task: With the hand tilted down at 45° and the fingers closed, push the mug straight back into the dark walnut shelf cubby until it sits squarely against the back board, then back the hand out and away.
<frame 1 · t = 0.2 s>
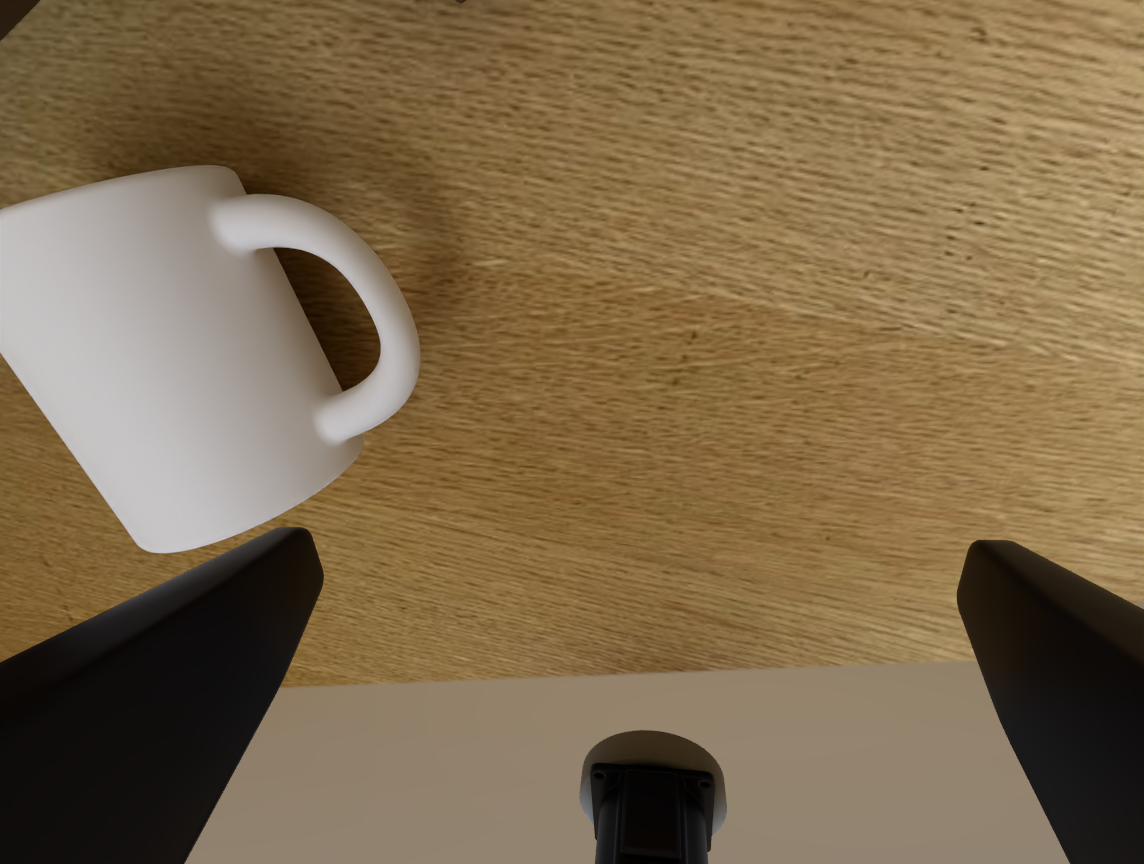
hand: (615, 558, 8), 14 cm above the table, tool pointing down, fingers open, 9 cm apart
mug: (303, 310, 23), on the table
shelf: (213, 188, 21), on the table
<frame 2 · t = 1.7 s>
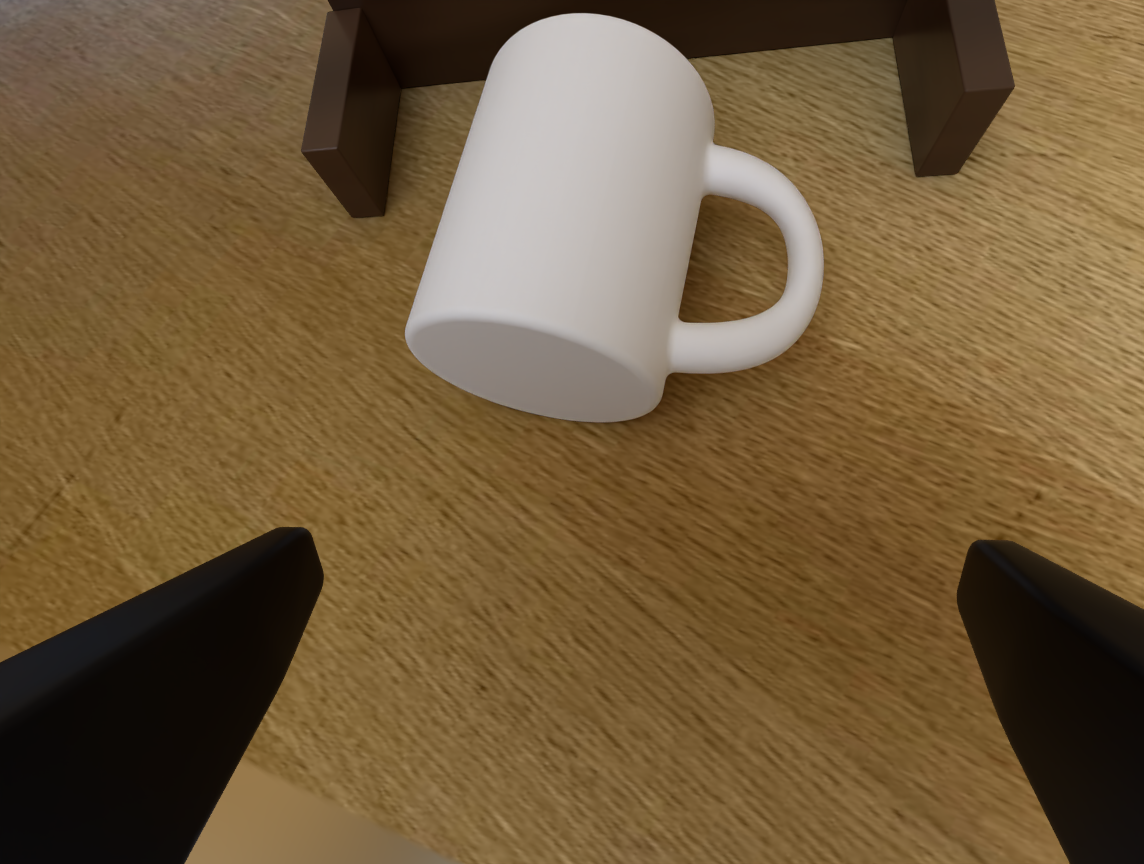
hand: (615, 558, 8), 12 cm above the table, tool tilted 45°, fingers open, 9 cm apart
mug: (634, 309, 23), on the table
shelf: (633, 198, 25), on the table
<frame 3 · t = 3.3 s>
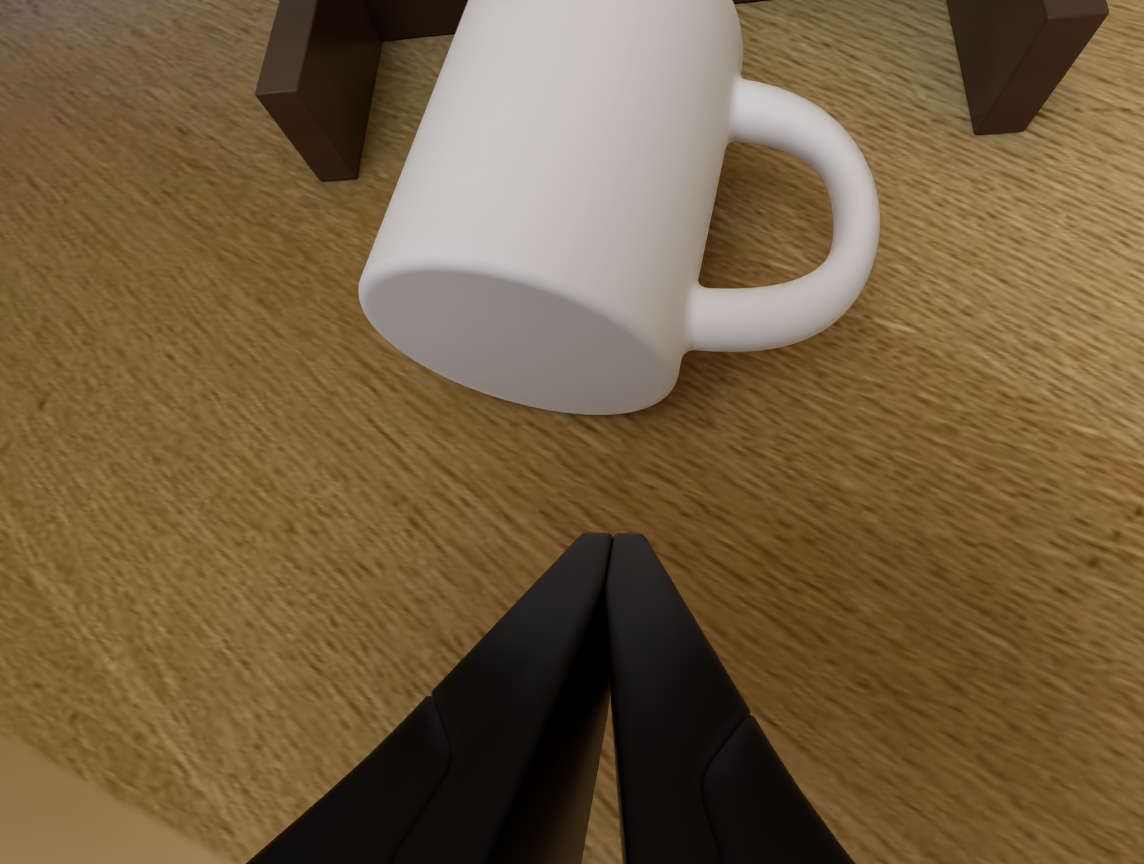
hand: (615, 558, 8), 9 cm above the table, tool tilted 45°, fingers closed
mug: (642, 285, 20), on the table
shelf: (642, 159, 21), on the table
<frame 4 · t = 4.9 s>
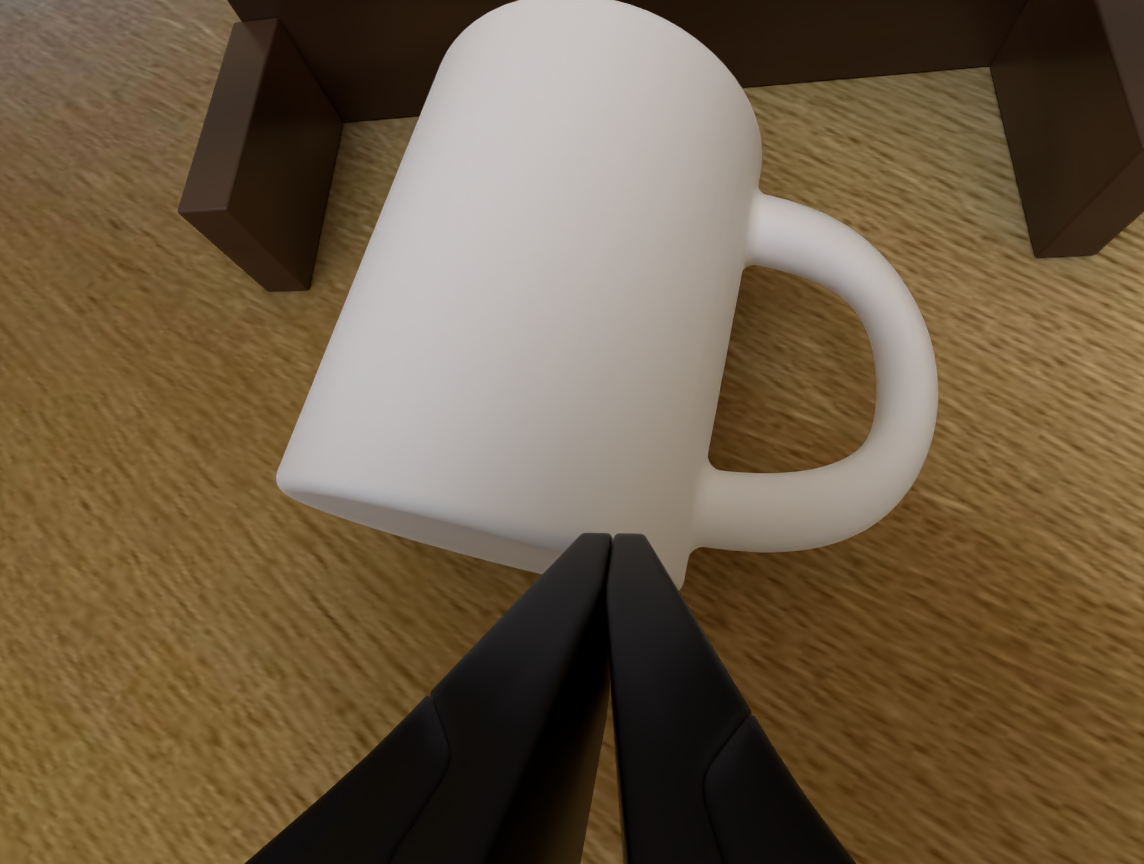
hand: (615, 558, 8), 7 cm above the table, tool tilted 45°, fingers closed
mug: (639, 411, 17), on the table, touching gripper
shelf: (640, 276, 18), on the table
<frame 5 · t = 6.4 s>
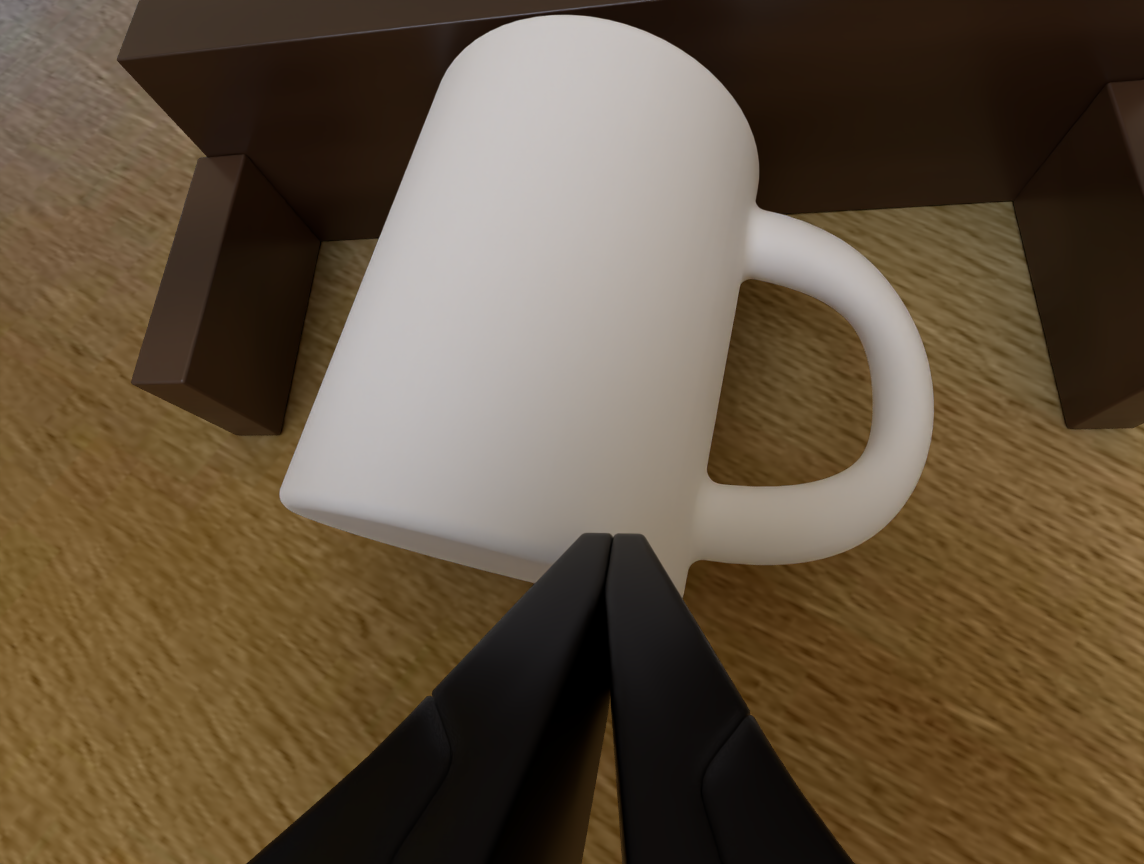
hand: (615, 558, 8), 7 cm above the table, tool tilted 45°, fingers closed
mug: (639, 422, 17), on the table, touching gripper
shelf: (636, 433, 17), on the table
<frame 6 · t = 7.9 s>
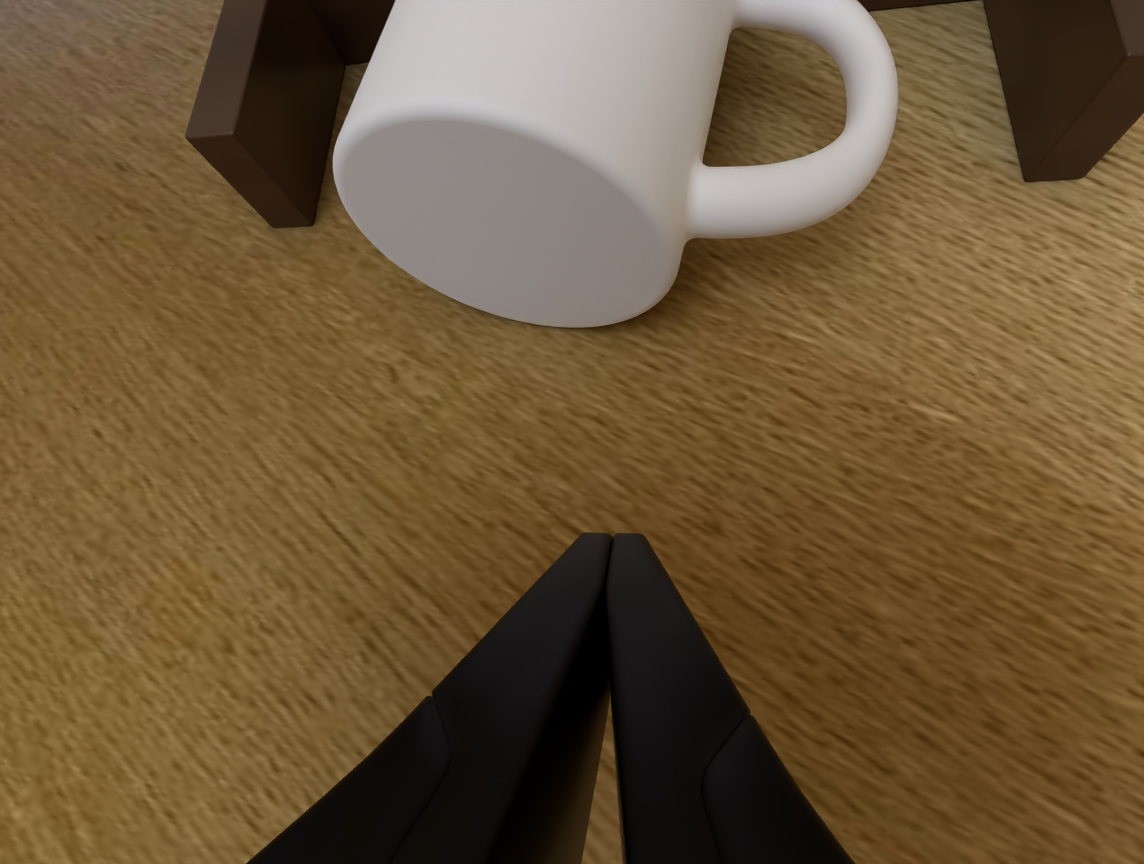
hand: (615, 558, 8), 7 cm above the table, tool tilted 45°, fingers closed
mug: (640, 198, 19), on the table
shelf: (638, 206, 18), on the table
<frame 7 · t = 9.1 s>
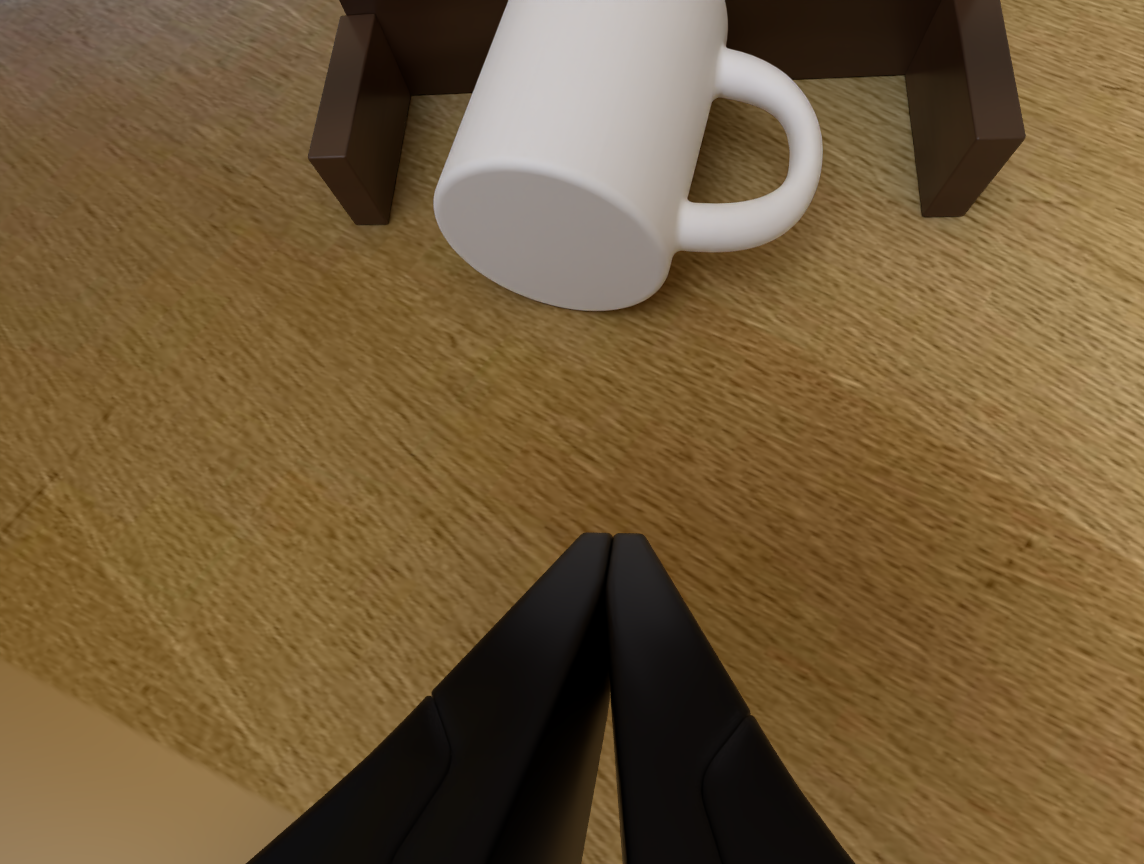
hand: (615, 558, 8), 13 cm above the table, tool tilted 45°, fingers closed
mug: (642, 215, 25), on the table
shelf: (640, 221, 25), on the table
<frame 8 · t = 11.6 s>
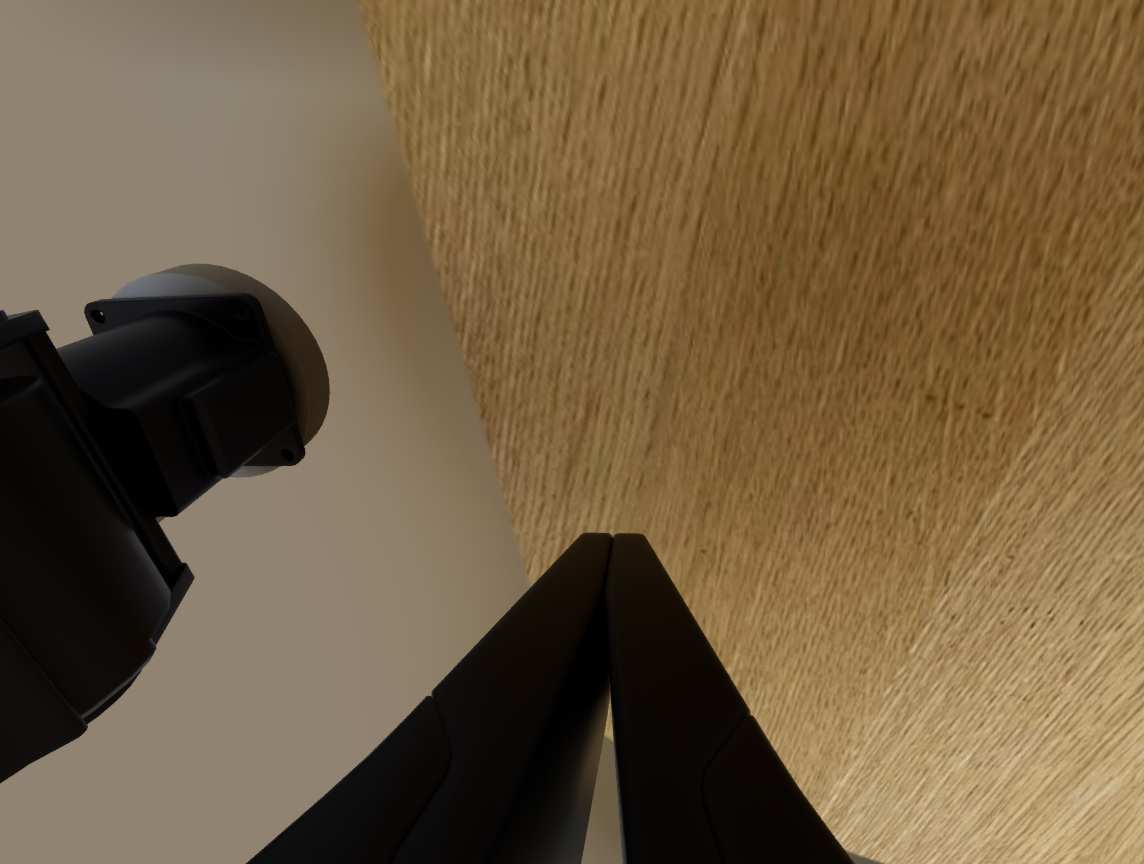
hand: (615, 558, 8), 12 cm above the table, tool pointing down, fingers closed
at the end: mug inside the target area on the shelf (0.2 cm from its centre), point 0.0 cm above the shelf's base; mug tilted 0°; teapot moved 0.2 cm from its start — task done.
